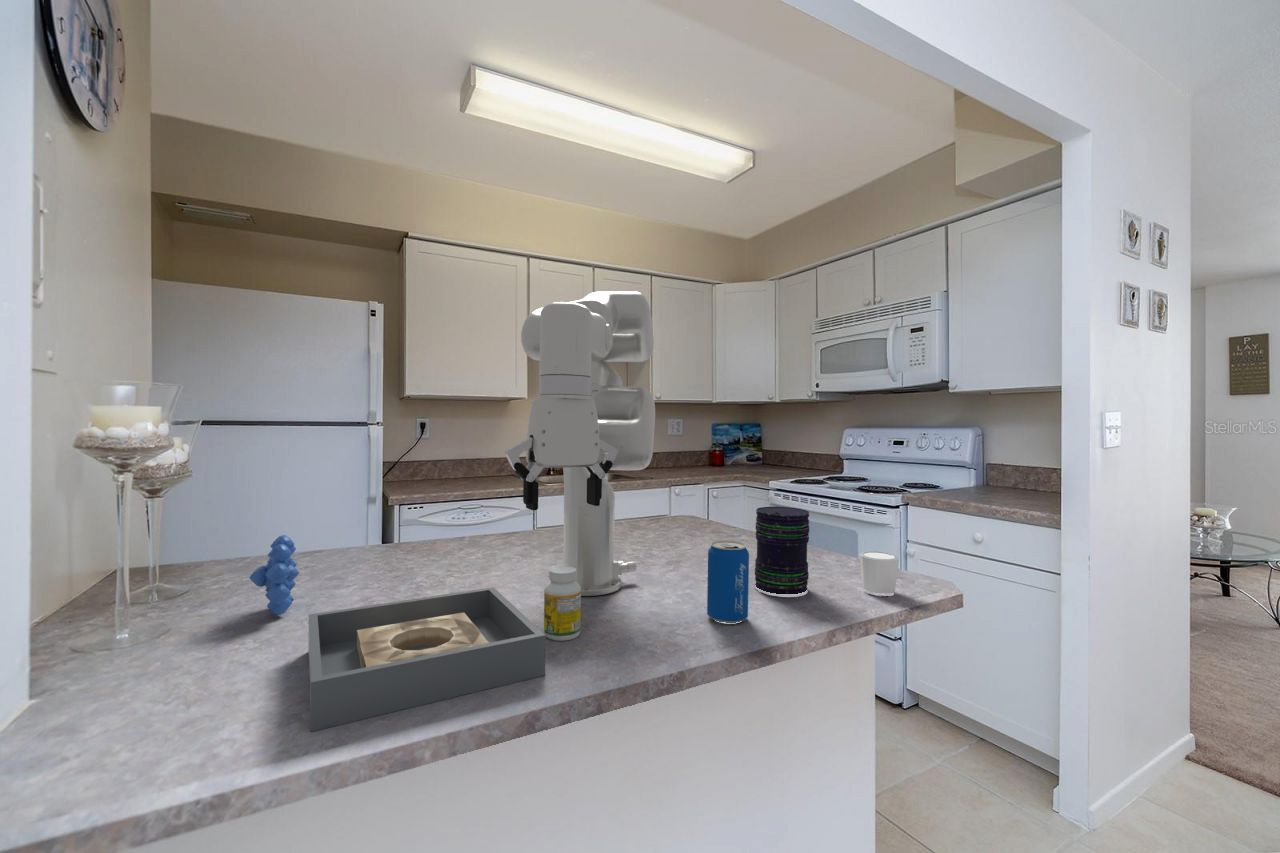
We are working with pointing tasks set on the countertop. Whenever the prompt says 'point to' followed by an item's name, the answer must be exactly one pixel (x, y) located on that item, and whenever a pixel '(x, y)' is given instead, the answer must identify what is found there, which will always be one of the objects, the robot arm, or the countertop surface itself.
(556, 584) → the supplement bottle
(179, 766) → the countertop surface
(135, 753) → the countertop surface
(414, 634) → the bore plate
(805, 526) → the storage jar
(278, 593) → the grapes
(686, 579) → the countertop surface
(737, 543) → the beverage can
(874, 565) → the white short cylinder
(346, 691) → the open box
